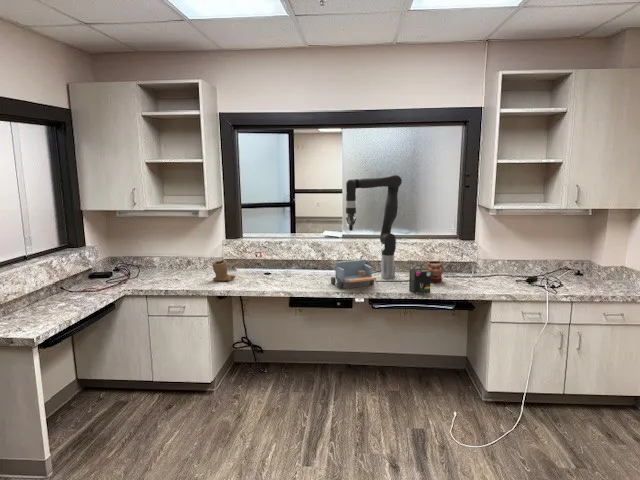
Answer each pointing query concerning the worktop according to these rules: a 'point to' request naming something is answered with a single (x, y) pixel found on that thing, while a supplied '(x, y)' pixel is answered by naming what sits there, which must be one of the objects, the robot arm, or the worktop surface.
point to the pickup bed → (351, 273)
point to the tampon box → (420, 281)
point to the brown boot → (222, 271)
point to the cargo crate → (361, 273)
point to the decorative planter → (435, 271)
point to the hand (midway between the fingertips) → (350, 230)
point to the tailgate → (360, 279)
